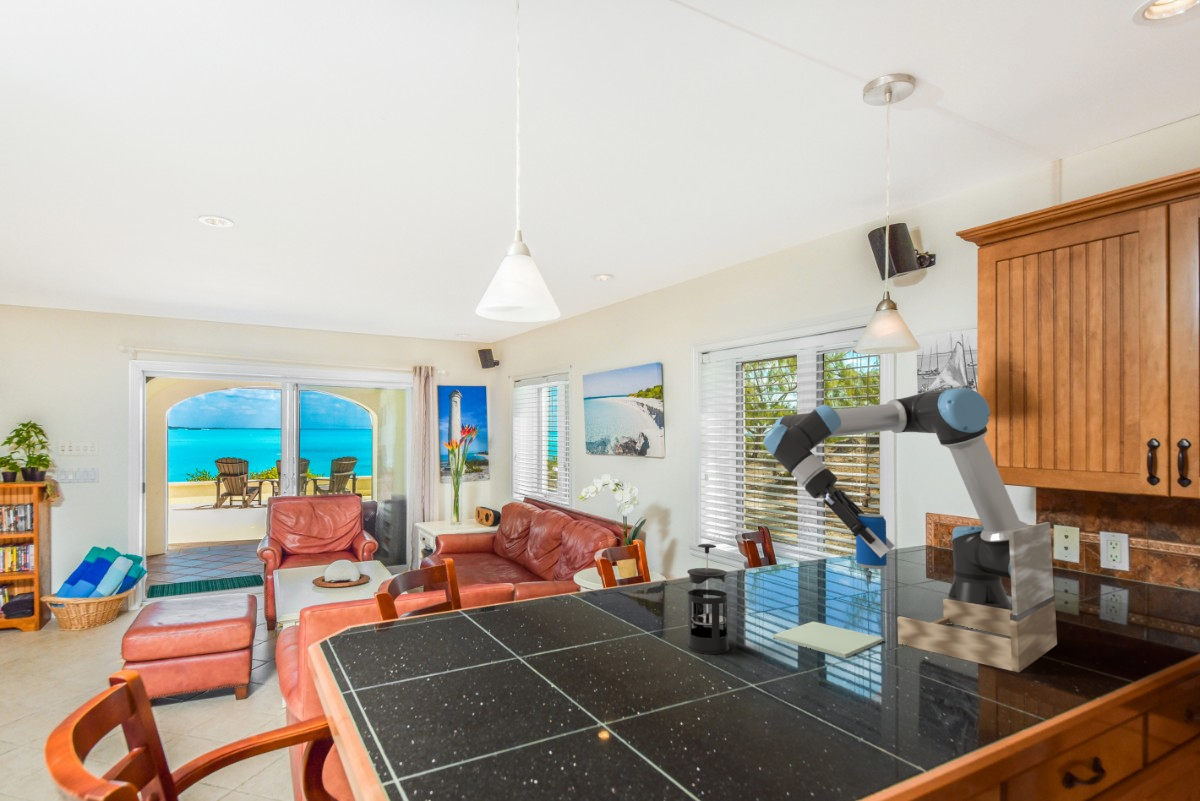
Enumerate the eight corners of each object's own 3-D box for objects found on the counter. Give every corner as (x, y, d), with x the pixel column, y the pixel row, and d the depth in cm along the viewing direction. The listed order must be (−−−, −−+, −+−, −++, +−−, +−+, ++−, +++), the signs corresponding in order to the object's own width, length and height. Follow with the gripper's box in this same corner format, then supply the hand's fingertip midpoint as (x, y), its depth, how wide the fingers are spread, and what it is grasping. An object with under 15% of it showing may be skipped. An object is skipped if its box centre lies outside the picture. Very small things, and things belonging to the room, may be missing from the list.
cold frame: (898, 643, 143) (894, 521, 145) (945, 622, 161) (941, 513, 163) (1019, 672, 124) (1013, 532, 127) (1057, 644, 143) (1051, 522, 145)
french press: (737, 653, 135) (736, 547, 137) (697, 656, 133) (697, 548, 135) (715, 637, 146) (714, 539, 148) (677, 640, 144) (677, 540, 146)
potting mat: (772, 638, 146) (772, 634, 146) (813, 624, 158) (813, 621, 158) (845, 658, 133) (844, 654, 133) (883, 641, 144) (883, 637, 144)
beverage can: (880, 564, 146) (880, 513, 147) (891, 570, 140) (890, 516, 141) (852, 563, 147) (852, 513, 148) (861, 569, 141) (861, 515, 142)
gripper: (814, 486, 162) (882, 556, 151) (792, 489, 145) (867, 568, 135) (835, 466, 159) (906, 536, 149) (815, 467, 143) (893, 546, 133)
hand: (887, 551), depth 142 cm, fingers closed on beverage can, 6 cm apart
